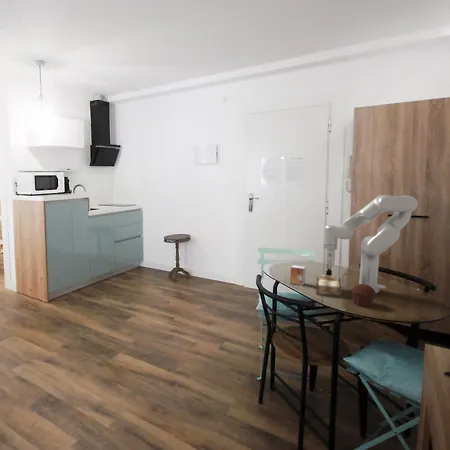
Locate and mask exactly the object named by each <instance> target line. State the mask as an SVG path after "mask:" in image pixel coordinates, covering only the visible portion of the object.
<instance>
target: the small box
mask: <svg viewBox="0 0 450 450" xmlns="http://www.w3.org/2000/svg"><path fill="white" fill-rule="evenodd" d="M306 268H307V266H300V265H295V264H294V265H292V266H290V275H289V278H290V279H289V284H294V285H296V286H297V285H298V286H303V285H304V284H305V283H306V273H307V272H306V270H307V269H306Z"/></svg>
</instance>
